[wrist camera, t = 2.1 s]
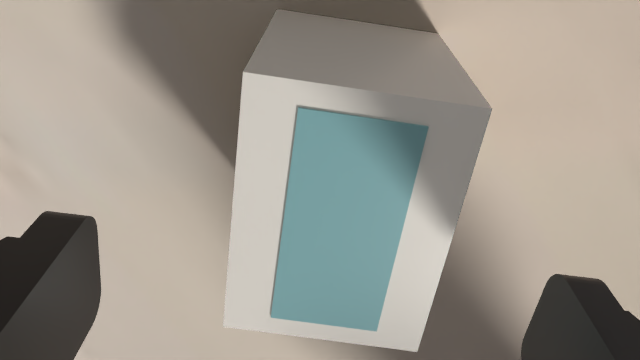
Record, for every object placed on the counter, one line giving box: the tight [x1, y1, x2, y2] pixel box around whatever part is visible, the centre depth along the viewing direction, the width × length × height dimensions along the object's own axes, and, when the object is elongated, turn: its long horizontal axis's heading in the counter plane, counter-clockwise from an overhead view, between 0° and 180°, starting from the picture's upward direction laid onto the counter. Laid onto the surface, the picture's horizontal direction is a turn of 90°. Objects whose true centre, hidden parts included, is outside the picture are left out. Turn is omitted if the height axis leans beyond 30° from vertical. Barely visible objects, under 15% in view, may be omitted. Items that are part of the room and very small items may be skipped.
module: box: [223, 9, 492, 352], centre depth 14 cm, size 4×6×6 cm
